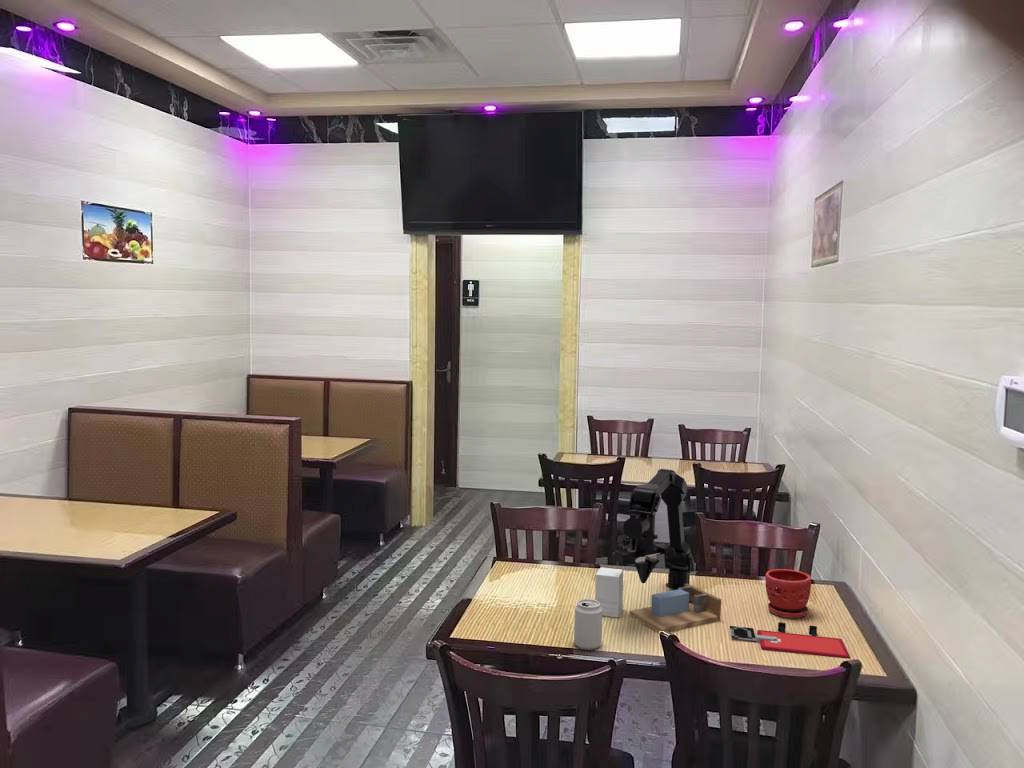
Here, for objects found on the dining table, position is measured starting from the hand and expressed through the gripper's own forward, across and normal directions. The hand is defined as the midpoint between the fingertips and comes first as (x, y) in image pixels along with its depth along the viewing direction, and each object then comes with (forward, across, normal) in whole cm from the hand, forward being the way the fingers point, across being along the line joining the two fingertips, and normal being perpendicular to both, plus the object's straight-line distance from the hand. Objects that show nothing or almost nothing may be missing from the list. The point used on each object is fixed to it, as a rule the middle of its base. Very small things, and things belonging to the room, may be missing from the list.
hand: (643, 582), depth 226 cm
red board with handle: (+13, -28, +28) cm, 42 cm away
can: (+12, +23, +6) cm, 27 cm away
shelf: (+12, -11, +2) cm, 16 cm away
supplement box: (+12, +4, -11) cm, 17 cm away
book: (+10, -10, 0) cm, 15 cm away
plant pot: (+12, -45, +13) cm, 48 cm away
